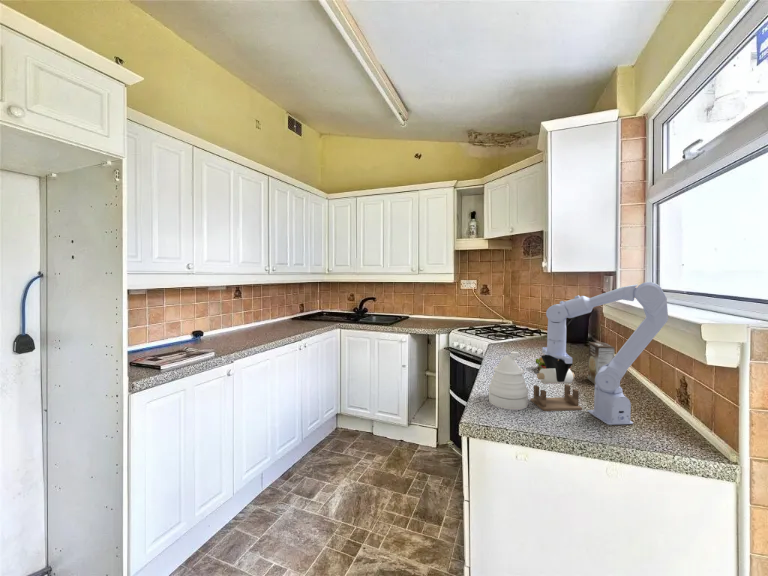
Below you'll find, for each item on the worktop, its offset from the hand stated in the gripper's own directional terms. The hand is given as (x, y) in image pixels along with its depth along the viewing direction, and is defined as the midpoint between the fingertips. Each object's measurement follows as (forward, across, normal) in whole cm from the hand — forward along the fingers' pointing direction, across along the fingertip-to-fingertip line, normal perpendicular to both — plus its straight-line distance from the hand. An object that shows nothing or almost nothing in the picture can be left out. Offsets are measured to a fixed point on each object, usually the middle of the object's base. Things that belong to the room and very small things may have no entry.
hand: (555, 378), depth 112 cm
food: (+10, -35, +20) cm, 41 cm away
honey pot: (+10, -4, -15) cm, 18 cm away
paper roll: (-1, 0, 0) cm, 1 cm away
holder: (+9, 0, 0) cm, 9 cm away
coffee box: (+9, -20, +31) cm, 38 cm away
